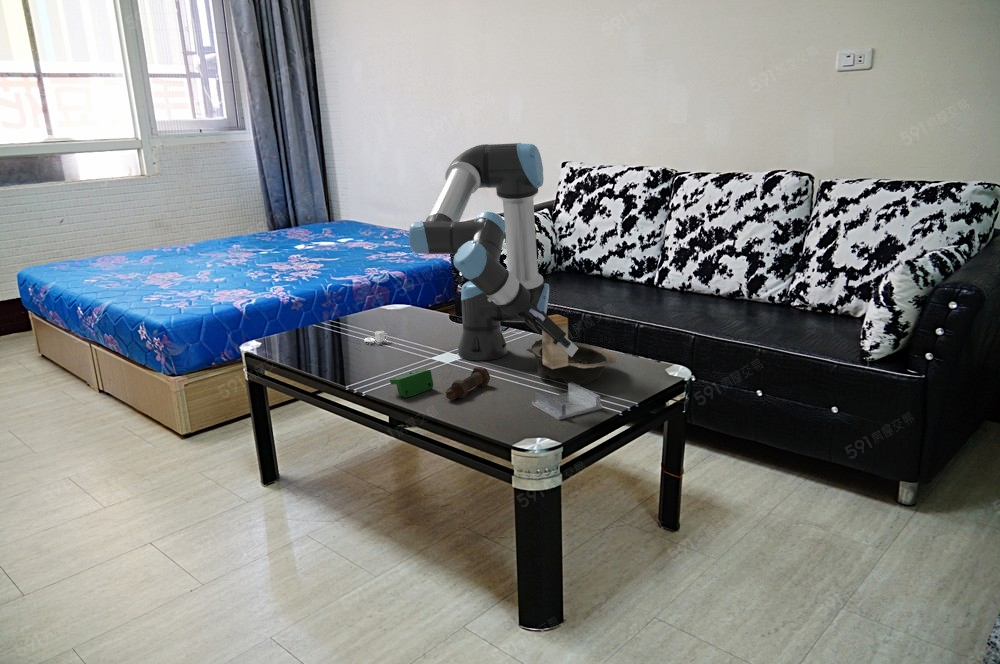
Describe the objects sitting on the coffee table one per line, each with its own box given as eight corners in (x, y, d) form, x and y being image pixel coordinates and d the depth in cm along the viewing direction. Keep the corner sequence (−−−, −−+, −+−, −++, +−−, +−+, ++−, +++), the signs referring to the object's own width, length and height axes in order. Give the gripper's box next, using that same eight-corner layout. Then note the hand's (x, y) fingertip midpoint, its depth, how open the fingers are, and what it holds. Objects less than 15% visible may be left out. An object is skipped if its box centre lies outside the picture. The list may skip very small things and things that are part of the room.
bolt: (448, 408, 195) (480, 388, 207) (461, 402, 192) (493, 382, 204) (437, 388, 195) (471, 369, 207) (450, 381, 192) (483, 363, 204)
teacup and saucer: (361, 345, 247) (359, 333, 246) (377, 338, 254) (376, 327, 252) (381, 348, 243) (380, 336, 241) (397, 342, 249) (396, 330, 248)
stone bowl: (510, 379, 209) (510, 347, 207) (563, 362, 227) (564, 332, 225) (583, 396, 193) (584, 362, 191) (633, 377, 211) (635, 345, 209)
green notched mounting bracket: (419, 401, 207) (423, 370, 208) (431, 401, 203) (435, 370, 204) (385, 395, 200) (389, 364, 201) (397, 395, 195) (401, 364, 197)
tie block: (542, 364, 184) (541, 317, 181) (557, 360, 187) (557, 314, 183) (552, 369, 181) (552, 321, 177) (568, 365, 183) (567, 318, 179)
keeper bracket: (532, 404, 190) (531, 391, 189) (574, 394, 196) (574, 381, 195) (558, 419, 180) (558, 406, 179) (602, 408, 186) (602, 395, 185)
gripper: (480, 299, 179) (540, 352, 191) (517, 314, 164) (579, 371, 177) (499, 274, 180) (557, 329, 192) (537, 287, 165) (598, 346, 177)
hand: (568, 349), depth 184 cm, fingers closed on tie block, 4 cm apart
